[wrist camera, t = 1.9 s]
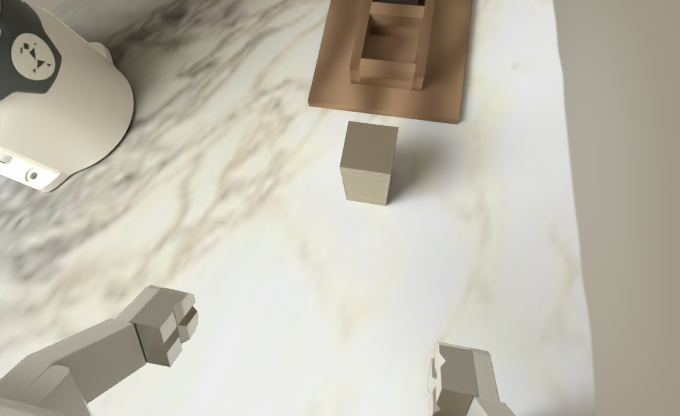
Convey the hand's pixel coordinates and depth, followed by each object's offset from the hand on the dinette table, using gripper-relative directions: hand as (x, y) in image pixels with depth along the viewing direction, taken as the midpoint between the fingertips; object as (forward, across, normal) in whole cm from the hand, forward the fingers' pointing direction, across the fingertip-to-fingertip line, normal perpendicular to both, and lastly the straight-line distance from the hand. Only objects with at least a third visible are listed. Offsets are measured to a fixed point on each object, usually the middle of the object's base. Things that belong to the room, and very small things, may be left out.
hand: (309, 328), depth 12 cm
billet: (+25, 0, +7) cm, 26 cm away
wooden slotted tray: (+38, 0, -6) cm, 38 cm away
